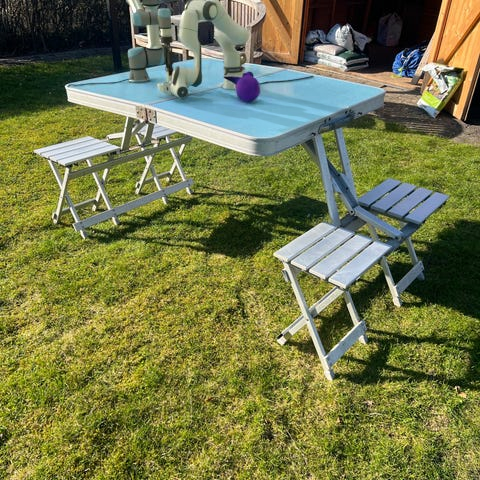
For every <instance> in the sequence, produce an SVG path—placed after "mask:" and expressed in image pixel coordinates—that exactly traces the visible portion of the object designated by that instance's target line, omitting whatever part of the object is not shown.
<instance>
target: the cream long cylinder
mask: <svg viewBox="0 0 480 480" xmlns="http://www.w3.org/2000/svg"><path fill="white" fill-rule="evenodd" d="M165 74H166V82H170V81H171V76H169V72H166V71H165ZM168 95H169V96H174V95H173V94H168Z"/></svg>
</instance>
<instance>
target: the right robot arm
mask: <svg viewBox="0 0 480 480" xmlns="http://www.w3.org/2000/svg"><path fill="white" fill-rule="evenodd" d="M201 21H203V22H204V21H207V22H211V23H212V24H213V27H214V28H215V30H214V33H213V38H214V40H215V41H216V42H217V43H218V45H219V46H220V49H221V51H222V55H223V60H224V63H223V69H222V71H223V82H222V87H221V88H222V89H224V90H232V91H236V84H234V83H232V82H230V81H229V80H227V79H225V78H224V76H233V77H242V76H243V73H245V72H244V71H245V70H246V67H245V66H243V65H242V66H240V60H241V58H240V54H241V53H240V51H238V50H237V49H236V48H235V45H236V46H241V45H245V44H246V43H248V41H249V39H250V38H249V37H250V36H249V35H250V34H249V30H248V29H247V28H246V27H244V26H242V25H240V24H239V23H237V21H235V20H234V19H233V18H232V17H231V16H230V14H229V13H228V11H227V10H226V9H225V7H224V5H223V3H221V2H220V1H219V0H188V1H186V3H185V5H184V10H183V11H182V13H181V17H180V21H179V26H178V34H177V35H178V40H179V41H180V43H181V45H184V47H185V48H187V49H189V50H190V51H191V53H192V54H193V68H188V67H184V66H179V65H178V66H175V68H173V72H172V75H171V81H170V82H167V81H166V82H160V83H159V82H158V83H157V84H156V86H157V90H158V91H159V92H160V93H162V94H163V95H169V94H173V95H172V96H175V97H176V98H178V99H184V98H186V97H188V95H189V88H190V87H194V88H197V87H199V86H200V85H201V84H202V82H203V72H202V71H203V70H202V68H203V67H202V66H203V65H202V62H203V59H202V55H203V54H202V53H203V52H202V44H201V42H200V41H199V37H198V31H199V22H201ZM311 78H314V75H308V76H304V77H299V78H294V79H287V80H286V79H285V80H274V81H273V80H271V81H263V82H259V84H260V85H265V84H270V83H271V84H272V83H273V84H274V83H288V82H295V81H300V80H305V79H311Z"/></svg>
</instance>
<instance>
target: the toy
mask: <svg viewBox="0 0 480 480" xmlns="http://www.w3.org/2000/svg"><path fill="white" fill-rule="evenodd" d="M224 78H225V79H227V80H229V81H230V82H232V83H234V84H236V90H235V92H236V96H237V98H238V100H240V101H241V102H244V103H253V102H255V101H256V100H257V99H258V97H259V96H260V94H261V84H259V83H260V82H259V80H258V79H257V78H255V76H254V73H253V72H252V71H246V72H244V73H243V76H242V77H233V76H224V75H223V79H224Z"/></svg>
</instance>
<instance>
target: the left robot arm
mask: <svg viewBox="0 0 480 480" xmlns="http://www.w3.org/2000/svg"><path fill="white" fill-rule="evenodd" d="M125 1H126V3H127V4H128V5H129V7H130V9H131V21H132V24H133V26H136V27H137V26H138V27H140V26H142V27H143V26H146V36H147V44H146V46H145V47H146V48H144V47H143V46H137V47H132V48H130V49H128V50H127V57H128V64H129V65H128V66H129V76H128V78H126V79H123V80H119V81H113V82H89V83H88V82H87V83H80V84H71V83H70V84H68V85H67V88H69V87H70V86H71V87H72V86H73V87H74V86H75V87H80V86H85V85H86V86H87V85H107V84H109V85H110V84H118V83H122V82H125V81H126V82H127V81H128V82H129V83H133V84H141V83H148V82H150V76H149V74H148V71H147V66H161V65H164V64H165V67H168V71H169V76H171V75H172V72H173V70H174V67H173V65H174V57H173V47H172V46H171V44H173V42H174V39H173V28H172V17H171V16H172V13H171V9H170V8H168V7H167V8H165V7H163V8H159V7H160V3H162V0H125ZM162 44H163V45H162ZM72 131H73V133H75V129H73V130H72Z"/></svg>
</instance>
